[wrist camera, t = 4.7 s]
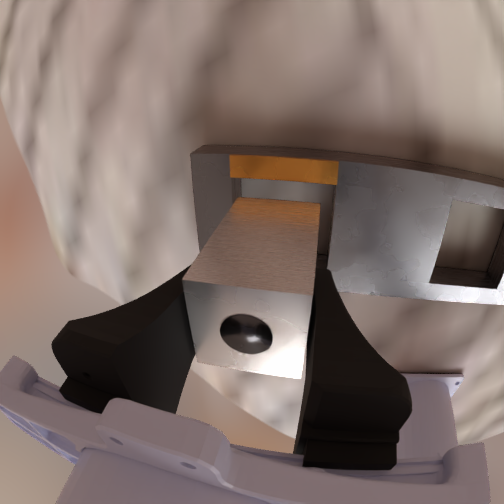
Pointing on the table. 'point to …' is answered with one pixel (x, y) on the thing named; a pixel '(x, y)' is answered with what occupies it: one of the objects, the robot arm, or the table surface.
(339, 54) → the table surface
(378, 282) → the rail
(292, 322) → the drilled metal block
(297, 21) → the table surface
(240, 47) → the table surface
